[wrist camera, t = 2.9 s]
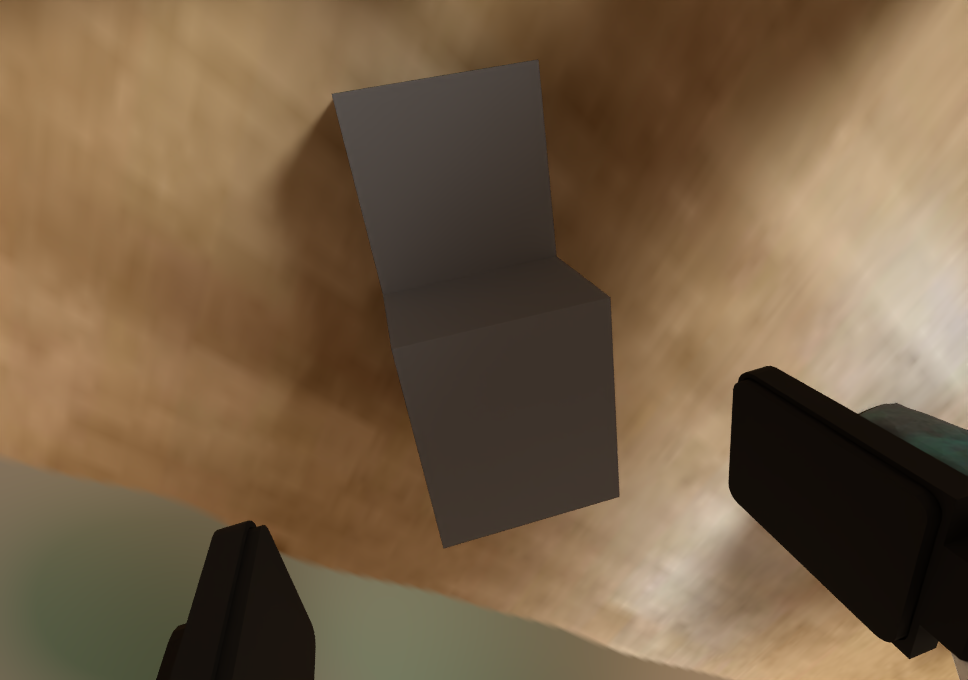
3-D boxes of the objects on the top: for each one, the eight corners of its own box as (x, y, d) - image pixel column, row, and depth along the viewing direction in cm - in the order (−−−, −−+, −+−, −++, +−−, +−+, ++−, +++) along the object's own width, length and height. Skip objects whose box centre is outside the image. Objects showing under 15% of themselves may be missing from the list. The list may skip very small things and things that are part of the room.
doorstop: (501, 68, 16) (598, 45, 9) (539, 377, 21) (619, 496, 14) (336, 95, 15) (324, 91, 9) (415, 409, 20) (443, 548, 14)
